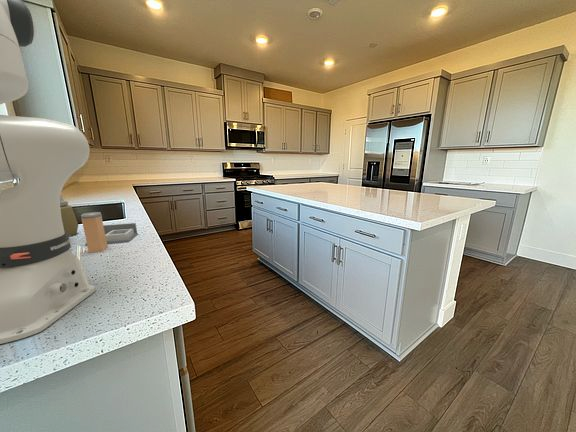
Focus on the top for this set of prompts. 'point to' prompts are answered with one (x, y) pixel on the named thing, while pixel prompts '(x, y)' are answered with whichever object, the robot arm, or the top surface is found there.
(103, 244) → the grey-capped orange post
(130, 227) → the housing
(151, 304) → the top surface
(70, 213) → the squeeze bottle
